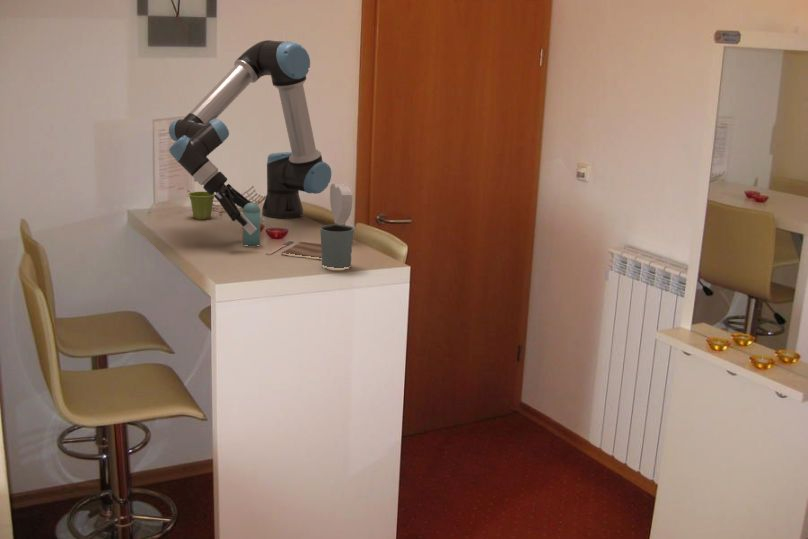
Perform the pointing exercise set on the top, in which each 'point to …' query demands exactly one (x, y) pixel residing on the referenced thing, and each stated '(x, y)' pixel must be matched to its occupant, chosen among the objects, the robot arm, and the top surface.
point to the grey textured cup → (336, 245)
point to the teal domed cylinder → (253, 216)
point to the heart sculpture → (340, 202)
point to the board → (306, 249)
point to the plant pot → (201, 204)
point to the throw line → (288, 242)
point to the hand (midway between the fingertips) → (257, 227)
